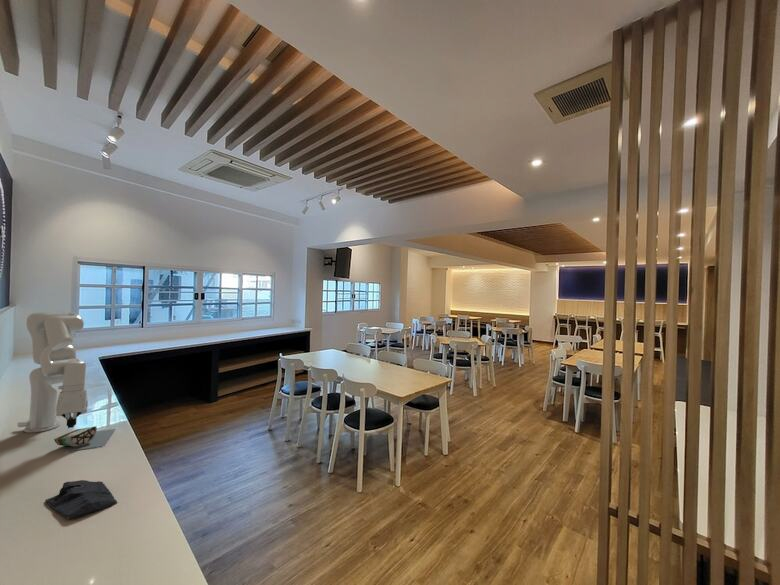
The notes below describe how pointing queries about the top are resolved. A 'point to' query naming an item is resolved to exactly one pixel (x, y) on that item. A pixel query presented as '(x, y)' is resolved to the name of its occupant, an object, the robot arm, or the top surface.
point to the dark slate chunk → (81, 498)
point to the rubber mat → (95, 440)
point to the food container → (77, 437)
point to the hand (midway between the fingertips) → (71, 426)
